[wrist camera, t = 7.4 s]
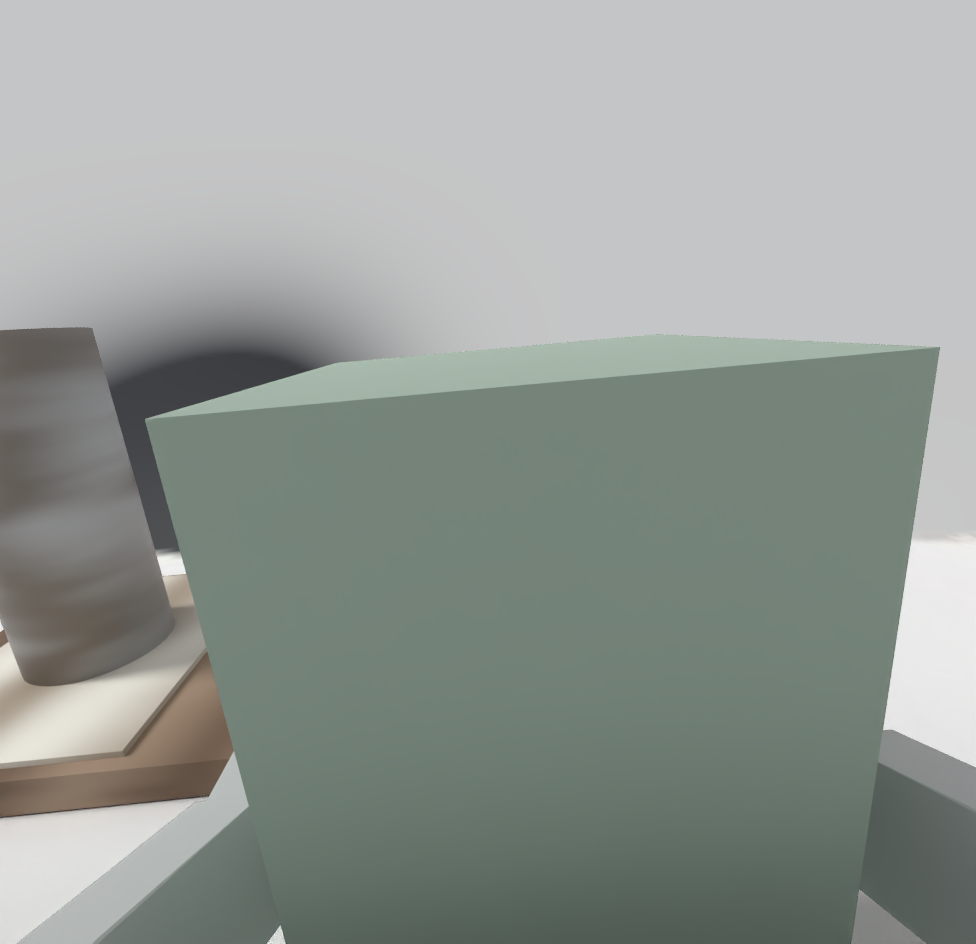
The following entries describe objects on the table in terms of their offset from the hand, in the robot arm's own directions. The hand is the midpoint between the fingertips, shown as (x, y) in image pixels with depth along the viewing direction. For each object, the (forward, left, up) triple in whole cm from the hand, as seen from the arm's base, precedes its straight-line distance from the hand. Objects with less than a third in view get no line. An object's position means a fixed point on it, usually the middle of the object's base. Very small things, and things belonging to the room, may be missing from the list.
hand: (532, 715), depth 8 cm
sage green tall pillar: (0, -1, -7) cm, 7 cm away
